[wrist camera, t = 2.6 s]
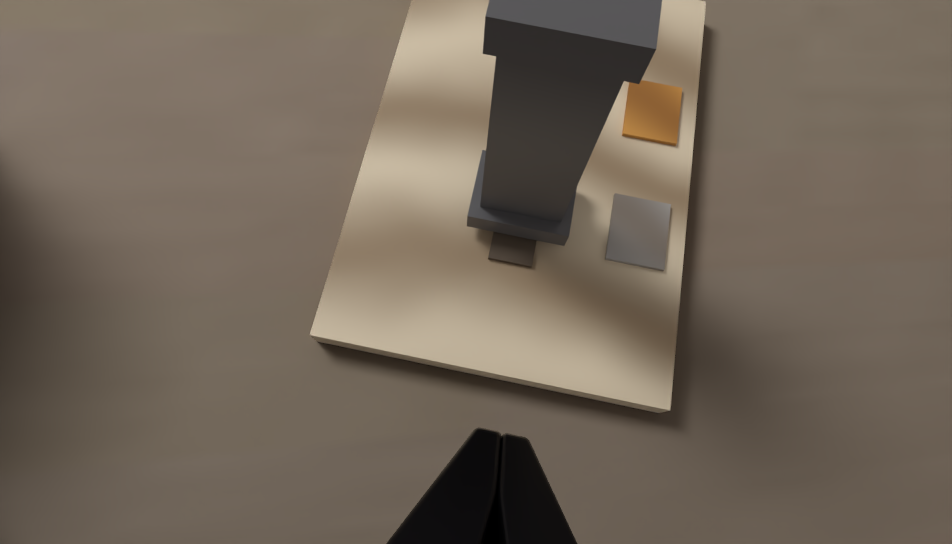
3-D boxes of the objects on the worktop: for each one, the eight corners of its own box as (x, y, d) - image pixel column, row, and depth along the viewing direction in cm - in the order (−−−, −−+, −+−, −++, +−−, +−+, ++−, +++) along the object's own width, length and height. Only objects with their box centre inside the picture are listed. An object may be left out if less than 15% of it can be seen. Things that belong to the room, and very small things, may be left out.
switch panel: (659, 413, 23) (696, 403, 19) (316, 341, 23) (293, 319, 20) (696, 19, 29) (728, -40, 26) (428, -31, 29) (425, -96, 26)
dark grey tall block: (564, 245, 23) (660, 57, 12) (466, 226, 23) (478, 22, 12) (574, 180, 24) (671, -46, 13) (481, 162, 24) (504, -78, 13)
